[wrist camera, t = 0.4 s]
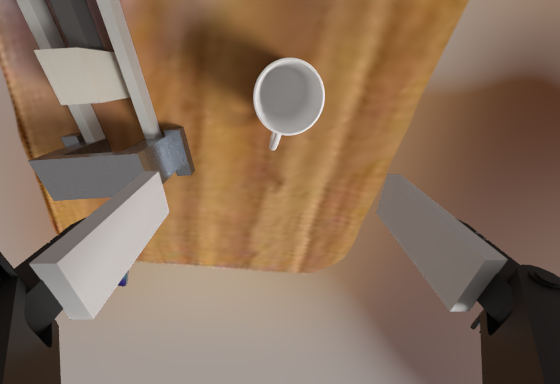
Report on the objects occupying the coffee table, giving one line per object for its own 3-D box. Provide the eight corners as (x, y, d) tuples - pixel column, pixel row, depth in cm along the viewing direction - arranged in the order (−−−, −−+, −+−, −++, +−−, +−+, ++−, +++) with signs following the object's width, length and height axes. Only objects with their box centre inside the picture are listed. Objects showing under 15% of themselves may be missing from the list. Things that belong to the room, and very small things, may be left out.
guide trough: (13, -41, 26) (-10, -52, 24) (104, -46, 26) (89, -57, 24) (96, 138, 37) (86, 142, 35) (161, 134, 37) (154, 138, 35)
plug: (38, -43, 26) (-32, -78, 20) (80, -45, 26) (22, -80, 20) (98, 99, 34) (61, 105, 28) (130, 97, 34) (100, 102, 28)
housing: (70, 134, 36) (3, 154, 27) (183, 127, 37) (154, 144, 27) (92, 177, 40) (40, 207, 31) (194, 170, 41) (172, 199, 31)
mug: (289, 144, 39) (297, 170, 28) (244, 126, 37) (233, 148, 27) (318, 74, 34) (341, 75, 23) (267, 50, 32) (265, 39, 21)
